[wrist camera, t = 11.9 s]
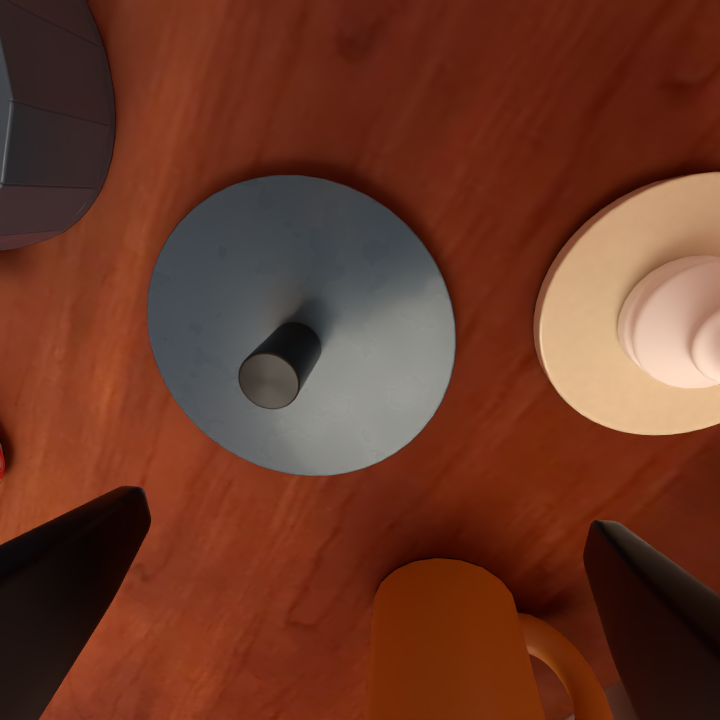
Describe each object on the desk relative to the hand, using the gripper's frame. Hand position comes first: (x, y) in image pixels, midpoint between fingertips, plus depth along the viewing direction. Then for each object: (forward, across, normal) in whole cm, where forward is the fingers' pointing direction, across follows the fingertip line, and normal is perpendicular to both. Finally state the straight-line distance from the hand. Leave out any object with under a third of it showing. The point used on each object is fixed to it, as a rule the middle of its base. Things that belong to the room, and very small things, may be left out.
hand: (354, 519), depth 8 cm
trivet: (+12, -12, -1) cm, 17 cm away
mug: (+12, -5, +18) cm, 23 cm away
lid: (+12, +4, 0) cm, 12 cm away
